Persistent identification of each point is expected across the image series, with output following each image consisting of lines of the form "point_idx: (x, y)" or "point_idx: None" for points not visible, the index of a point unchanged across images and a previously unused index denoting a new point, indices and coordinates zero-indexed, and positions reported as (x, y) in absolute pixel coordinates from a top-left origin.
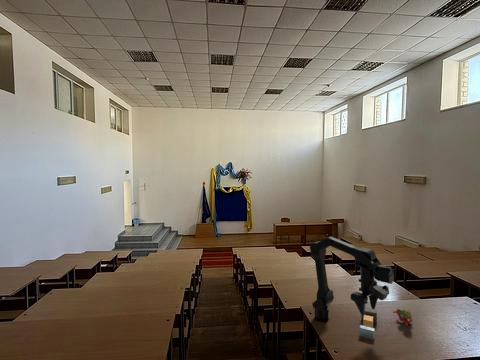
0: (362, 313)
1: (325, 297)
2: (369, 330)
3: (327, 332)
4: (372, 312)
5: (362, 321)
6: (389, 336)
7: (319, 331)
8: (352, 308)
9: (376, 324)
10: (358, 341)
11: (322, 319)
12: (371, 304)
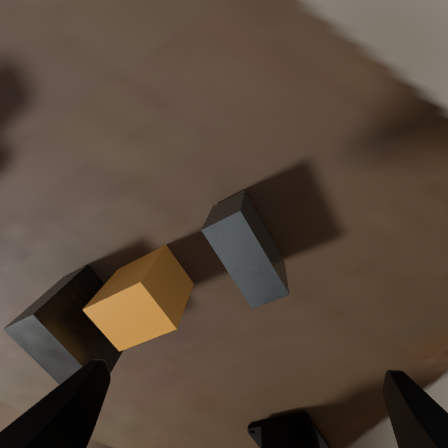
0: (429, 407)
1: None
2: (257, 237)
3: None
4: (53, 335)
5: None
6: (115, 160)
7: None
8: None
9: (85, 268)
10: (336, 238)
11: (311, 435)
12: (80, 441)
